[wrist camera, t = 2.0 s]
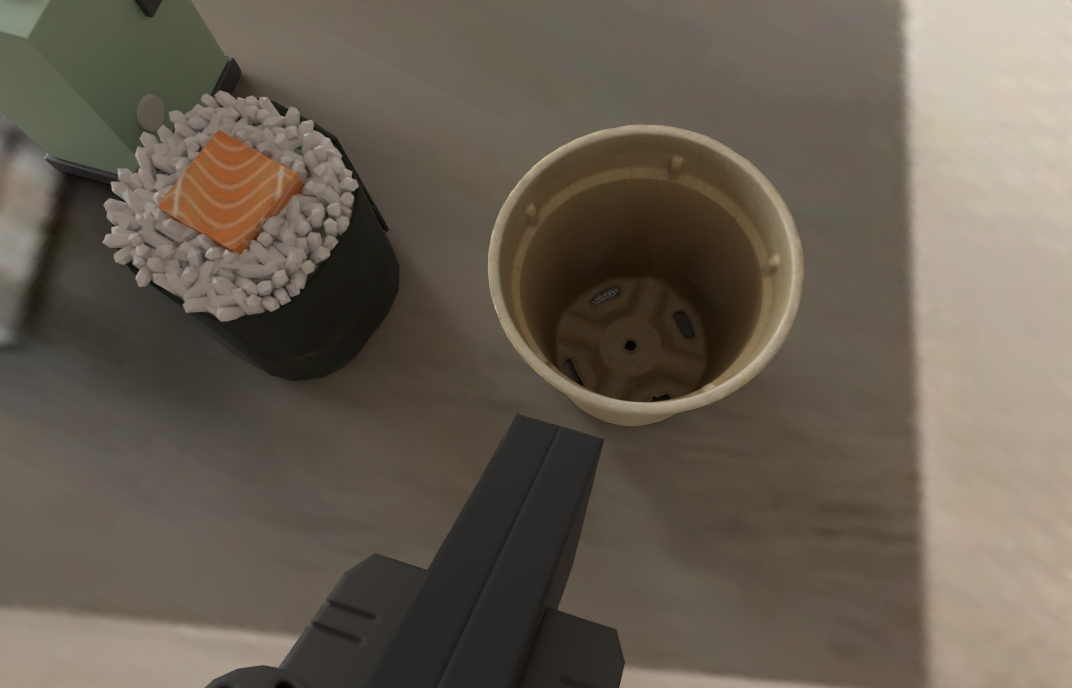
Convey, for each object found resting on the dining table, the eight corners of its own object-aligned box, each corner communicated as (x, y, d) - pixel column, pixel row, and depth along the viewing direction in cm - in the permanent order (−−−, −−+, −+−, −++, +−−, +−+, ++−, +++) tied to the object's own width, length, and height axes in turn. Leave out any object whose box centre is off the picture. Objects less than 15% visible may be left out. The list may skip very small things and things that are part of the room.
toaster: (56, 170, 38) (-134, 1, 28) (126, 42, 41) (-28, -157, 30) (179, 204, 38) (28, 41, 27) (244, 71, 40) (126, -125, 30)
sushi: (277, 164, 38) (200, 45, 30) (434, 253, 36) (393, 150, 29) (159, 312, 36) (44, 224, 28) (318, 415, 34) (241, 350, 27)
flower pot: (803, 341, 34) (870, 244, 26) (646, 523, 32) (665, 481, 24) (619, 200, 36) (627, 72, 28) (463, 362, 34) (423, 274, 26)
